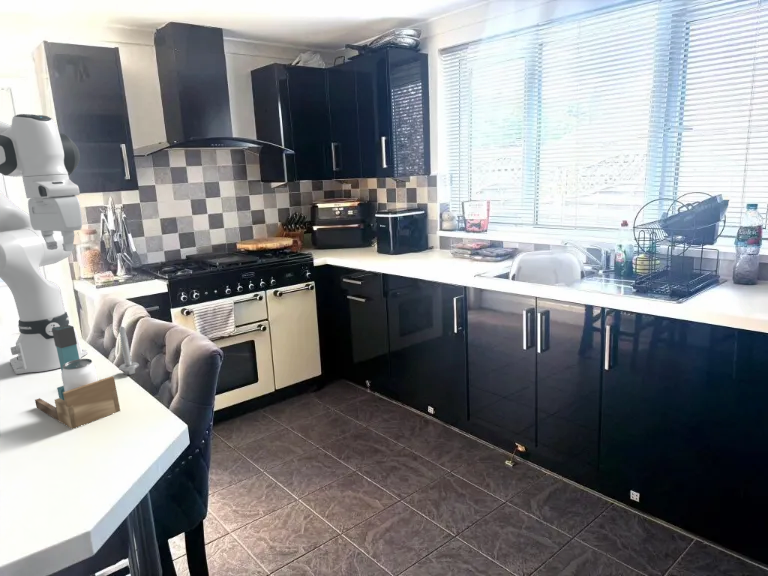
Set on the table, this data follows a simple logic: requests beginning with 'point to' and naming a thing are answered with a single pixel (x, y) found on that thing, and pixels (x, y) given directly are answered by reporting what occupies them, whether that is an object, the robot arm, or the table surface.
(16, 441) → the table surface
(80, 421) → the wooden box
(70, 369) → the can
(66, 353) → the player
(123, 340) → the screw
